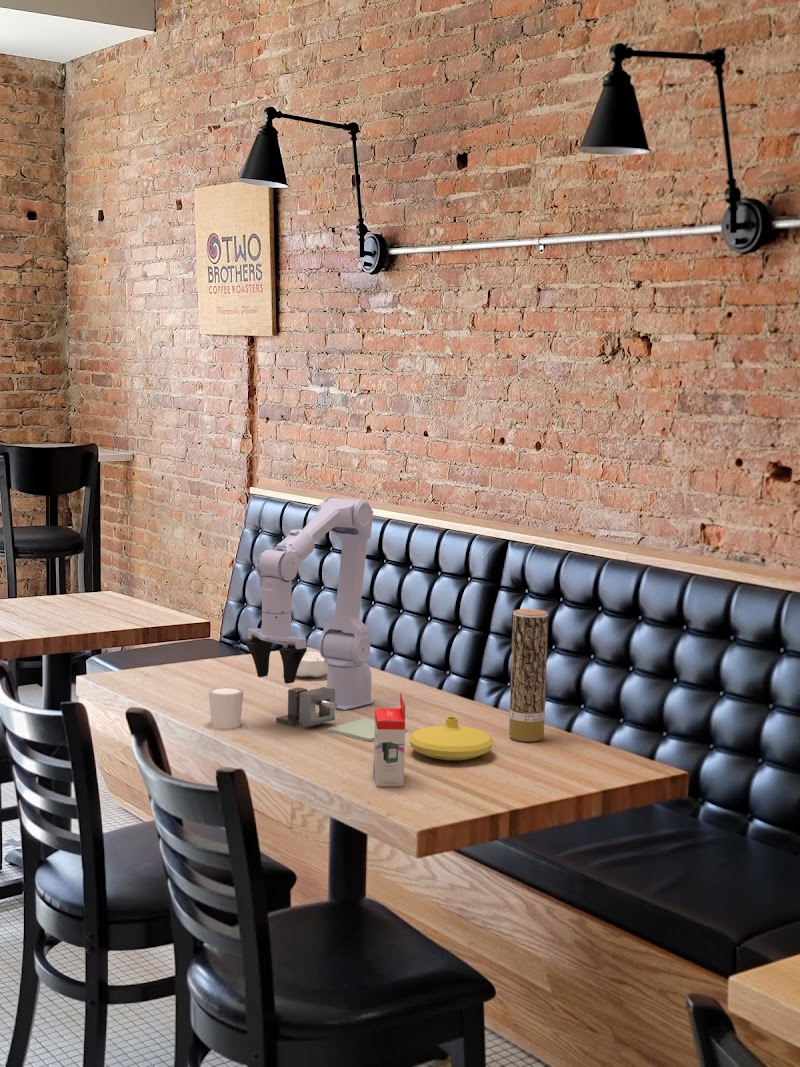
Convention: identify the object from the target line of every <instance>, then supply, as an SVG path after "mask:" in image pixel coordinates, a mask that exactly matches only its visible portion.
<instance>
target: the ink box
mask: <svg viewBox="0 0 800 1067" xmlns="http://www.w3.org/2000/svg"><path fill="white" fill-rule="evenodd" d="M399 702H400V704H399V705H400V708H398V707H378V708H377V707H376V708H375V709H374V720H375V734H374V741H373V744H374V745H373V767H372V768H373V770H372V772H373V778H374V781H375V786H376V788H377V787H378V788H380V787H384V788H386V787H387V788H388V787H389V788H390V787H391V788H397V787H404V786H405V746H406V741H405V740H406V732H405V728H406V704H405V703H406V702H405V700H404V697H403V694H402V692H399Z"/></svg>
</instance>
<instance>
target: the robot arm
mask: <svg viewBox="0 0 800 1067" xmlns="http://www.w3.org/2000/svg"><path fill="white" fill-rule="evenodd" d="M373 516H374V511H373V508H372V507H371V505H370V503H369V502H368V500H366V499H352V498H351V499H350V498H339V497H337V498H336V497H332V496H327V497H325V498H324V499H323V500H322V502H320V503H318V508H317V513H316V514H315V515H314V516H313V517H312V518H311V519H310V521H309V522H308V523H307V524H306V525H305V526H304V527H303V528H302V529H300V528H298V529H297V528H296V529H291V530H290V531H289V534H288V535H287V536H286V537H285V538H283V540H281V542H278V543H277V544H276V546H274V547H273V549H266V550H264V551H263V552H261V553H260V554H259V555H258V558H257V562H256V564H255V571H256V574H257V576H258V579H259V581H258V582H259V586H260V588H261V628H257V627H252V628H247V639H250V641H247V642H246V648H247V649H248V651H249V652H250V655H251V657H252V659H253V664H254V666H255V669H256V670H255V671H256V673H257V677H258V678H264V677H268V676H269V670H270V669H269V668H270V655H271V651H272V646H273V644H278V645H283V646H286V647H281V648H279V649H278V652H279V654H280V656H281V661H282V667H283V680H284V684H287V685H289V684H293V683H295V681H296V677H297V676H296V674H297V670H298V667H299V664H300V662H301V660H302V658H303V656H304V654H305V653H306V652H308V651H307V650H308V649H307V638H306V637H304V636H300V635H298V634H295V633H293V632H292V581H293V580H294V579H295V578H296V576H297V574H298V573H299V572H298V571H299V569H300V567H301V564H302V562H304V561H305V559H307V558H308V557H309V556H310V555H311V554H312V553H313V551H314V550H315V546H316V545H315V543H316V542H317V541H319V539H321V538H322V537H323V536H325V535H326V534H327V533H328V532H331V533H332V535H334V536H336V537H337V539H338V540H340V542H341V544H342V546H341V554H340V564H339V571H338V583H337V588H336V589H337V592H336V600H335V609H334V617H332V618H331V619H329V620H328V621H327V622H325V623H324V625H323V632H322V634H321V637H320V639H319V642H318V649H319V651H318V652H320V654H321V656H322V657H323V658H324V663H328V664H327V672H326V688H331V689H335V703H336V704H337V707H336V709H339V710H341V711H342V710H343V711H347V710H351V709H352V710H353V709H356V708H359V707H363V706H367V705H371V704H374V702H375V700H372V670H371V668H370V666H369V664H368V663H366V661H367V660H368V659H369V656H370V653H371V642H370V629H369V628H368V627H367V626H366V624H365V623H364V622H363V621H362V620H361V619H360V614H361V604H362V594H363V586H364V577H365V566H366V561H367V560H366V558H367V557H366V556H367V550H368V541H369V539H370V538H371V536H372V526H373ZM343 631H344V632H343ZM349 632H350V633H349Z"/></svg>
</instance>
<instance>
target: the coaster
mask: <svg viewBox="0 0 800 1067" xmlns="http://www.w3.org/2000/svg"><path fill="white" fill-rule="evenodd" d="M327 731H328V733H329V732H331V733H334V734H338V735H341V736H346V737H350V738H353V739H358V740H361V741H365V742H369V743H371V742H374V734H375V719H370V718H365V717H364V718H361V719H357V720H354V721H350V722H347V723H343V724H340V725H339V724H338V725H335V726H331V727H328V728H327ZM407 731H408V728H407V727H405V733H406V732H407Z"/></svg>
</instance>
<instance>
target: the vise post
mask: <svg viewBox="0 0 800 1067" xmlns="http://www.w3.org/2000/svg"><path fill="white" fill-rule="evenodd" d="M287 691H288V692H287V714H285V715H282V716H277V717H276V718H275V723H277V724H281V725H284V726H289V727H293V728H295V727H300V726H303V724H299V709H300V693H301V692H305V691H308V689H307V688H303V687H299V686H298V687H293V688H289V689H288V690H287ZM315 706H318V707H319V706H323V707H327V708H332V709H335V710H336V709H337V708H336V707H337V704H336V703H333V702H329V701H324V700H322V701H318V702H316V703H315Z"/></svg>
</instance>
